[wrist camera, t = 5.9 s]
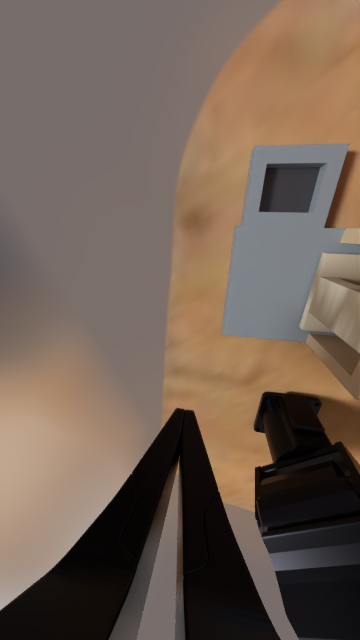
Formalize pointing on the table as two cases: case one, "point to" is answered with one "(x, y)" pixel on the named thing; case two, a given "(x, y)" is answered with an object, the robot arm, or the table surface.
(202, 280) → the table surface
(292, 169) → the crate on grey tray
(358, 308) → the tan blocky structure
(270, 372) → the table surface
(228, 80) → the table surface
